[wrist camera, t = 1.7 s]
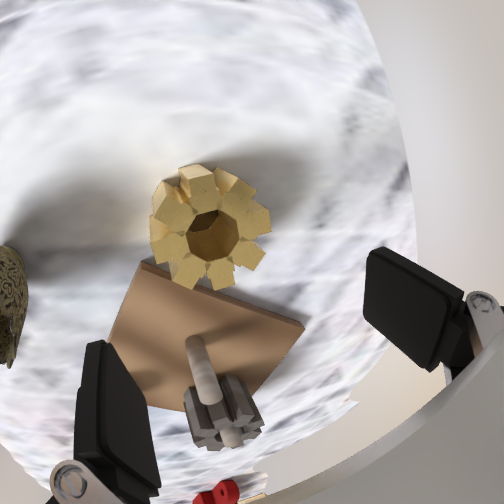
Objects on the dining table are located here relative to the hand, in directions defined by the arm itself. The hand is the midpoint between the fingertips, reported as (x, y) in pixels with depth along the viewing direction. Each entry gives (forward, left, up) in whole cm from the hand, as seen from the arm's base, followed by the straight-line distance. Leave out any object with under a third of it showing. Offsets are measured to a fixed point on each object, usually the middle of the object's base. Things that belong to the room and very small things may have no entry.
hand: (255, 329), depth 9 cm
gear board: (+11, +6, -12) cm, 18 cm away
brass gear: (-1, 0, -12) cm, 12 cm away
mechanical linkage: (+48, +28, -13) cm, 57 cm away
